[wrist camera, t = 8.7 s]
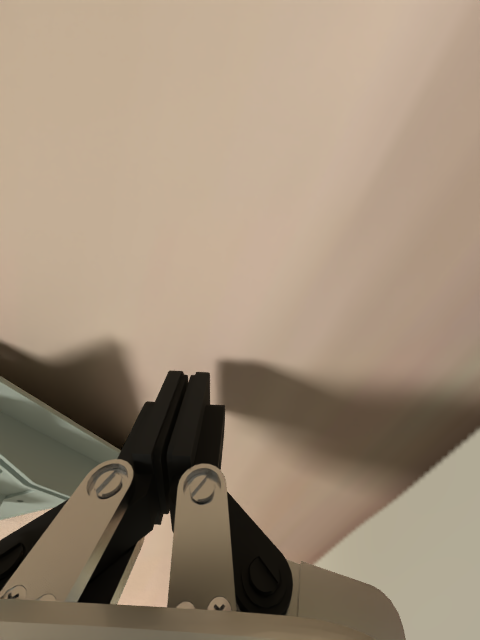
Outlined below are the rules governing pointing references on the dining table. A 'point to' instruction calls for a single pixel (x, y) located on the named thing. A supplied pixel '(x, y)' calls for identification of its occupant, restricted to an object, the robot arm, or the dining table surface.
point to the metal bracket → (42, 453)
